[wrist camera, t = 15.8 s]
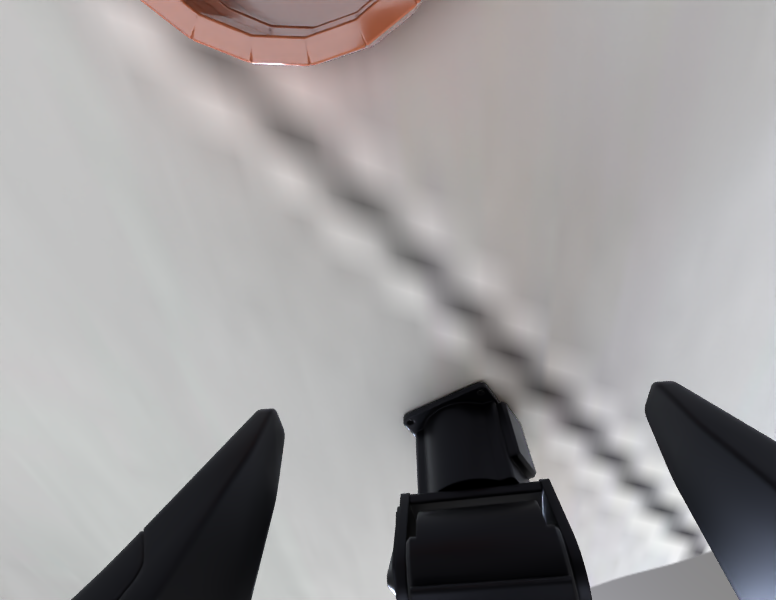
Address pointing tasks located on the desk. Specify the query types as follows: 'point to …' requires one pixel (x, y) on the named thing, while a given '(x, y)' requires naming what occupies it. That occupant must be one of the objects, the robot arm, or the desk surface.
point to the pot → (285, 26)
